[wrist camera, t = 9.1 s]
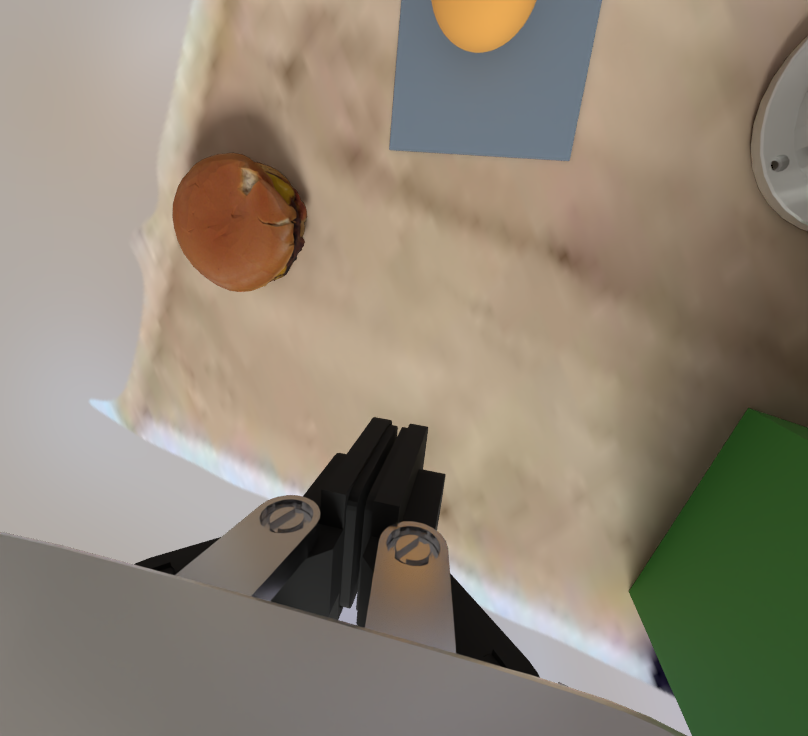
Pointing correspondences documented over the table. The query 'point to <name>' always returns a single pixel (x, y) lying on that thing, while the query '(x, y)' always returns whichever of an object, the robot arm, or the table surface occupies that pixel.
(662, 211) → the table surface
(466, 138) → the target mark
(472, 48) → the ball
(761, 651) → the hardback book
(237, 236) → the burger
